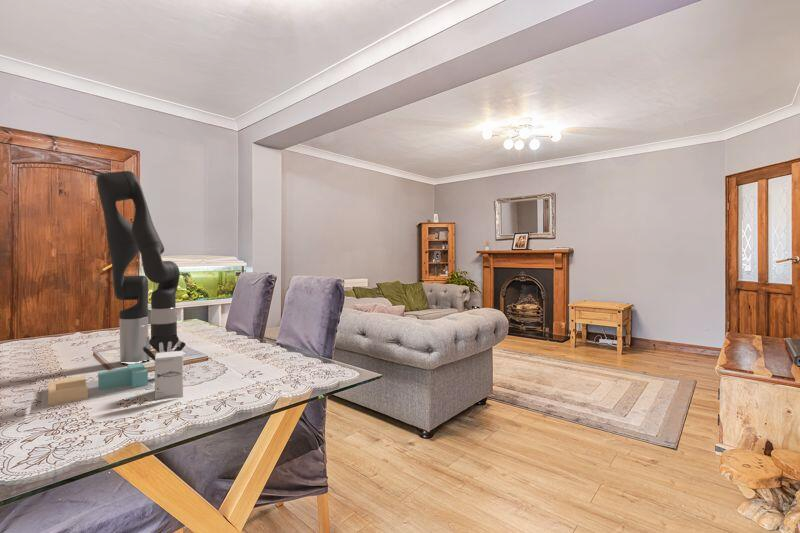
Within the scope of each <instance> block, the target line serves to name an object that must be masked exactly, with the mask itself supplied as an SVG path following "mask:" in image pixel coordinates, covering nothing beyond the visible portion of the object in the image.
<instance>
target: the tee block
mask: <svg viewBox="0 0 800 533" xmlns="http://www.w3.org/2000/svg"><path fill="white" fill-rule="evenodd" d="M148 376H149V373H148V369H147V367H145V365H144V363H142V362H141V363H135V364H128V365H127V367H123V368H117V369H112V370H110V369H109V370H105V371H104V370H103V371H98V372H97V378H98V379H97V381H98V387H99V390H102V389H108V388H114V387H119V386H125V385H132V387H133V388H135V387H140V386H146V385H148V380H149V377H148Z"/></svg>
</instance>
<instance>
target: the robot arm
mask: <svg viewBox="0 0 800 533" xmlns="http://www.w3.org/2000/svg"><path fill="white" fill-rule="evenodd" d="M96 188H97V190H98V191H97V192H98V195H99V200H100V204H101V207H102V212H103V216H104V223H105V231H106V239H107V247H108V251H109V257H110V260H111V269H112V280H113V281H112V284H113V294H114V297H115V298H116V299H117V300H119V301H137V303H135V304H134V305H132V306H130V307H126V308H124V309H122V310H120V311H119V313H118V314H119V322H118V323H119V355H120V356H119V361H120V362H139V361H144V360H150V361H151V359H152V360H153V361H154V362H155V356H156V354H154V353H153V352H152V348H153V350H155V351H156V353H161V352H172V350H173V349H174V348H175V349H174V350H173V351H183V349H184V347H186V346H187V345H186V343H185V342H184V341H181V340H180V338H179V336H178V315H177V307H176V306H177V305H176V302H177V300H176V293H177V290H178V286H179V282H180V272H181V271H180V268H179V266H178V265H177V263H176V262H174V261H171V260H165V261H163V259H162V254H163V253H164V252H165V246H164V244H163V242H162V240H161V238H160V236H159V234H158V231H157V230H156V228H155V225H154V223H153V220H152V216H151V213H150V210H149V207H148V204H147V200H146V198H145V195H144V191H143V188H142V185H141V183H140V181H139V179H138V177H137V175H135V173H134V172H132V171H130V170H123V171H114V172H113V171H112V172H105V173H99V174H98V175H97V177H96ZM126 200H132V202H133V204H134V205H133V206H134V218H133V222H132V223H131V222H130V221H128V220H127V218H125V217H124V216H123V215H122V214H121V212H120V211H119V210H118V208H117V202H120V201H121V202H122V201H126ZM138 254H140V257H141V262H142V267H143V272H144V274H145V275H124V274H125V271H126V270H127V268H128V266H129V265H130V264H131V263H132V261H133V260H134V259H135V258H136V257H137V255H138ZM149 281H150V282H152V283H154V284H157V289H155V290H154V291H152V293H151V294H150V308H151V310H150V335H149V305H148V303H149ZM175 346H176V347H175ZM120 362H119V363H120Z"/></svg>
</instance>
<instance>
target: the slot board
mask: <svg viewBox="0 0 800 533" xmlns="http://www.w3.org/2000/svg"><path fill="white" fill-rule="evenodd" d="M86 379H87V378H86V375H82V376H81V375H80V376H75V377H69V378H67V377H66V378H63V379H62V378H61V379H55V380H49V381H48V388H45V389H42V394H41V395H42V396H41V403H40V408H41V409H43V408H49V407H54V406H60V405H64V404H70V403H75V402H82V401H85V400H92V399H99V398H102V397H103V398H104V397H107V396H114V395H119V394H123V393H124V394H125V393H129V392H134V391H140V390H144V389H145V390H146V389H149V388H154V386H153V384H152V383H151V382H150V379H148V385H146V386H140V387H135V388H133V387H132V385H125V386H119V387H114V388H108V389H102V390H99V387H98V380H92V381H88V382H87V381H86Z"/></svg>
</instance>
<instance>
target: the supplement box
mask: <svg viewBox="0 0 800 533" xmlns="http://www.w3.org/2000/svg"><path fill="white" fill-rule="evenodd" d="M183 397H184V350H181V351H174V350H173V351H171V352H165V351H164V352H161V353H158V352H156V353H155V361H154V401H155V402H156V401H162V400H168V399H170V400H171V399H177V398H183Z"/></svg>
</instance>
